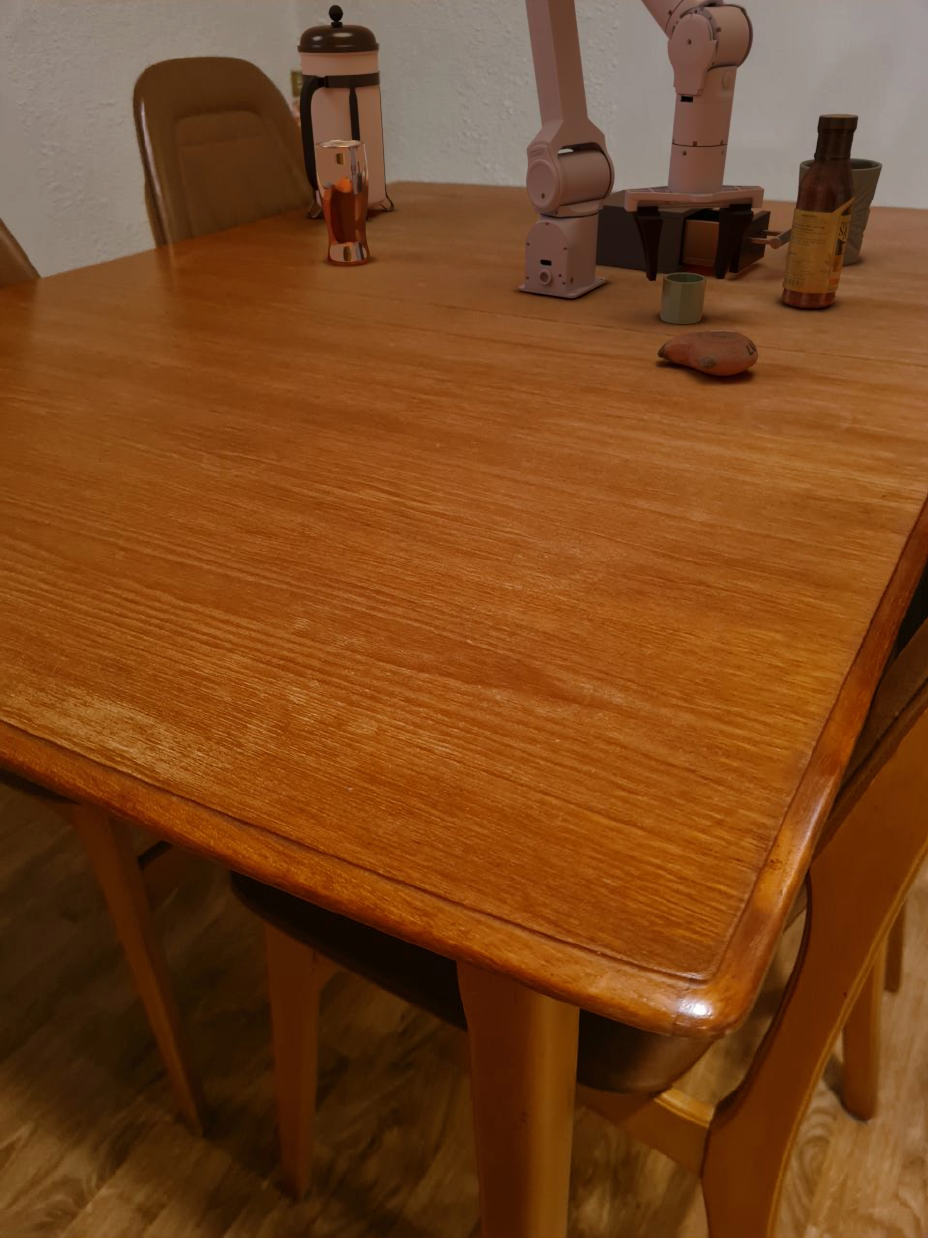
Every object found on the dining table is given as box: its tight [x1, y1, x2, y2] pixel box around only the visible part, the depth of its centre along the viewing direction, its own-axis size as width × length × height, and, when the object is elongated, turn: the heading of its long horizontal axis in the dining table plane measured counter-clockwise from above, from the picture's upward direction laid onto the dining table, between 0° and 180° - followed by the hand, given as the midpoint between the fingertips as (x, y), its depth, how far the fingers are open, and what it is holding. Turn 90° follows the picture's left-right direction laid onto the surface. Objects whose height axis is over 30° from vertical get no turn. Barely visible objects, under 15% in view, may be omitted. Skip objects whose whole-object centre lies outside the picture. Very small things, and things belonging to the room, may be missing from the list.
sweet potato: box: [656, 329, 759, 377], centre depth 94 cm, size 9×4×8 cm
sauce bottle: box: [781, 113, 859, 309], centre depth 108 cm, size 7×6×20 cm
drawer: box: [679, 208, 791, 274], centre depth 126 cm, size 17×10×6 cm, turn 57°
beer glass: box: [315, 140, 372, 267], centre depth 131 cm, size 7×7×15 cm
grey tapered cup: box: [797, 157, 883, 266], centre depth 128 cm, size 10×10×12 cm
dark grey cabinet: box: [596, 189, 713, 274], centre depth 131 cm, size 14×12×8 cm
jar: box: [659, 272, 707, 325], centre depth 108 cm, size 5×5×4 cm
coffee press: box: [296, 4, 395, 222], centre depth 153 cm, size 17×16×30 cm
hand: (684, 277), depth 107 cm, fingers open, 7 cm apart
